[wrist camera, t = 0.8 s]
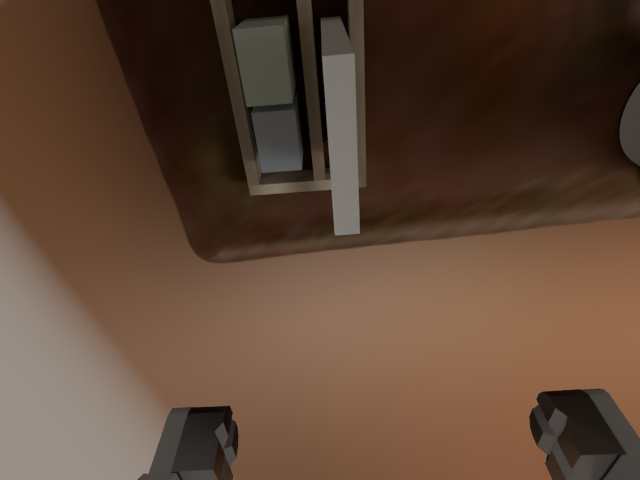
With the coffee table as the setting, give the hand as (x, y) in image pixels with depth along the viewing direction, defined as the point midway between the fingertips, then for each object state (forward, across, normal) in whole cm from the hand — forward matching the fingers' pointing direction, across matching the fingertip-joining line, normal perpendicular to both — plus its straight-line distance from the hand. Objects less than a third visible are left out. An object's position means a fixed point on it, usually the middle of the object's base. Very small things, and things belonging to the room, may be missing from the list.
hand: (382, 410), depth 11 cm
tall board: (+36, 0, 0) cm, 36 cm away
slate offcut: (+36, +6, +4) cm, 36 cm away
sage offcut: (+36, +6, -3) cm, 36 cm away
